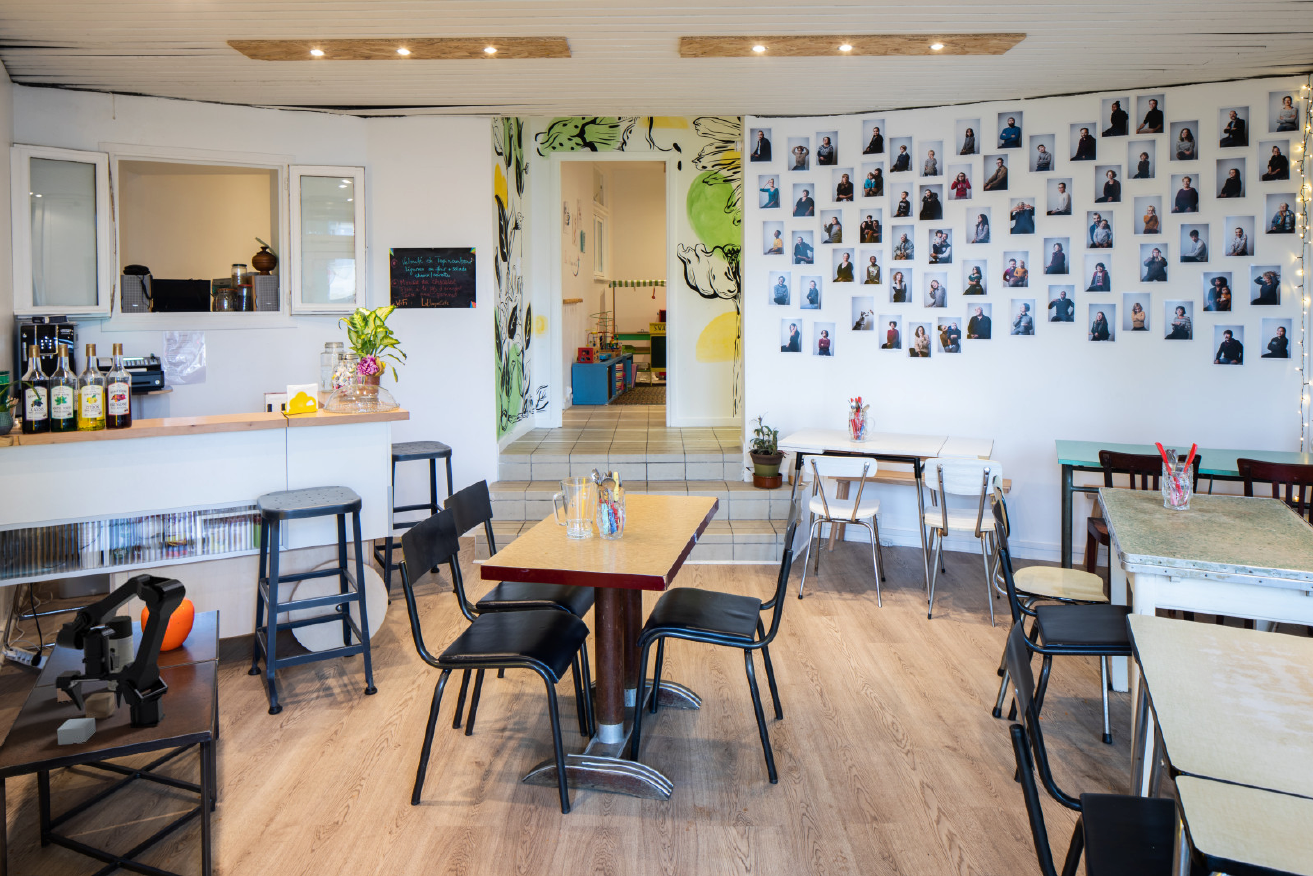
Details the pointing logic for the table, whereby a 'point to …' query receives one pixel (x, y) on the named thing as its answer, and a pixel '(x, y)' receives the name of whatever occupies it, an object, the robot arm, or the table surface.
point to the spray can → (120, 643)
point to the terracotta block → (62, 695)
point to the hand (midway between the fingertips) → (100, 709)
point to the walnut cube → (100, 705)
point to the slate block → (76, 731)
